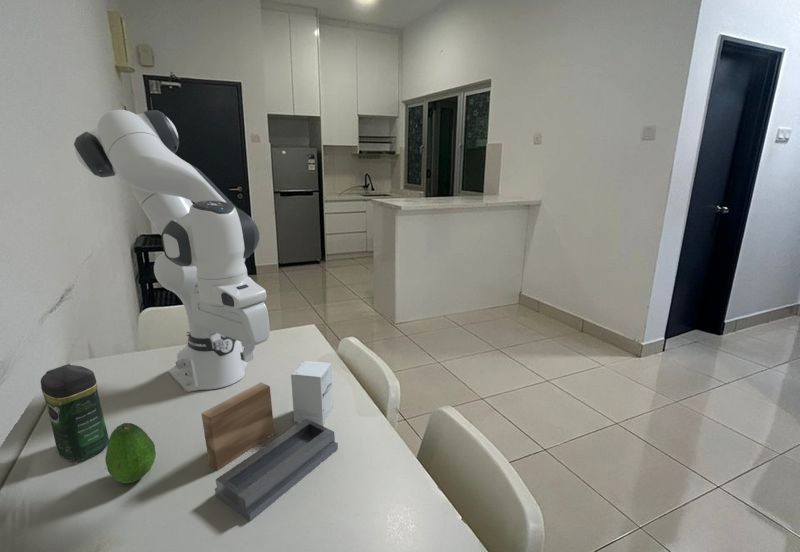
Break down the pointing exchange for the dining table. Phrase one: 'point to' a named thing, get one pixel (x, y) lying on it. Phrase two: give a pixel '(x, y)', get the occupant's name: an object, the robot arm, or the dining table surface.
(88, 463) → the dining table surface
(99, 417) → the coffee jar
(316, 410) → the supplement box
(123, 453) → the avocado
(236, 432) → the door panel
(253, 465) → the tray
